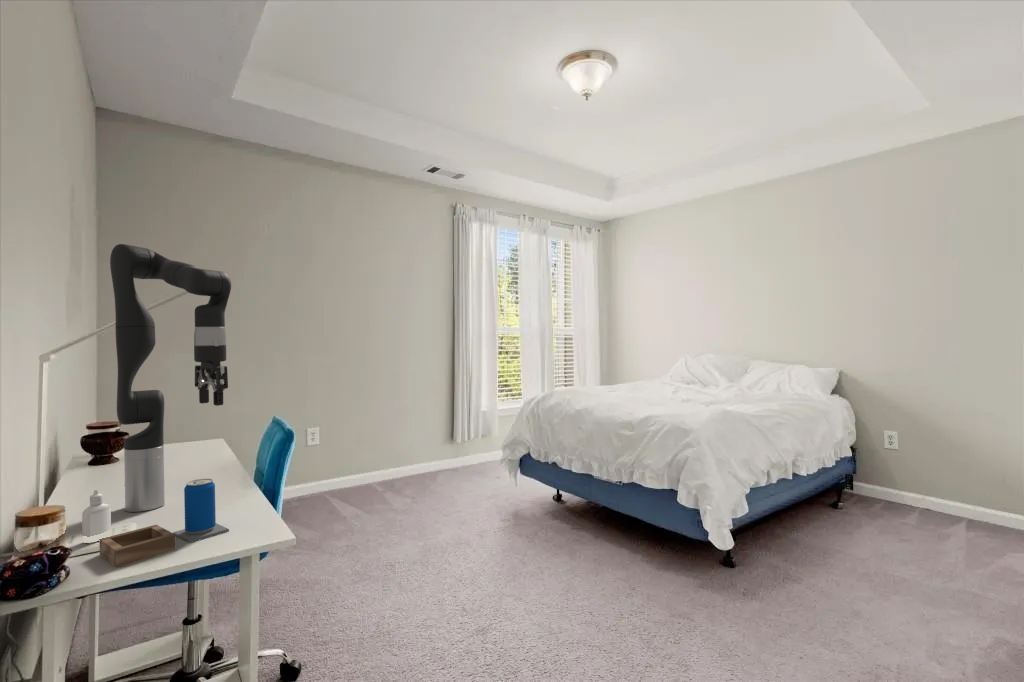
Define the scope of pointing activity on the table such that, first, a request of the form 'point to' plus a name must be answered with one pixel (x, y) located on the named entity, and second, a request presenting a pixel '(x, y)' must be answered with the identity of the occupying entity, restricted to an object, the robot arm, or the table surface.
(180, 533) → the rubber mat
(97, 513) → the eye dropper bottle
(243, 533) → the table surface
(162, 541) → the walnut collar
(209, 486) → the beverage can
